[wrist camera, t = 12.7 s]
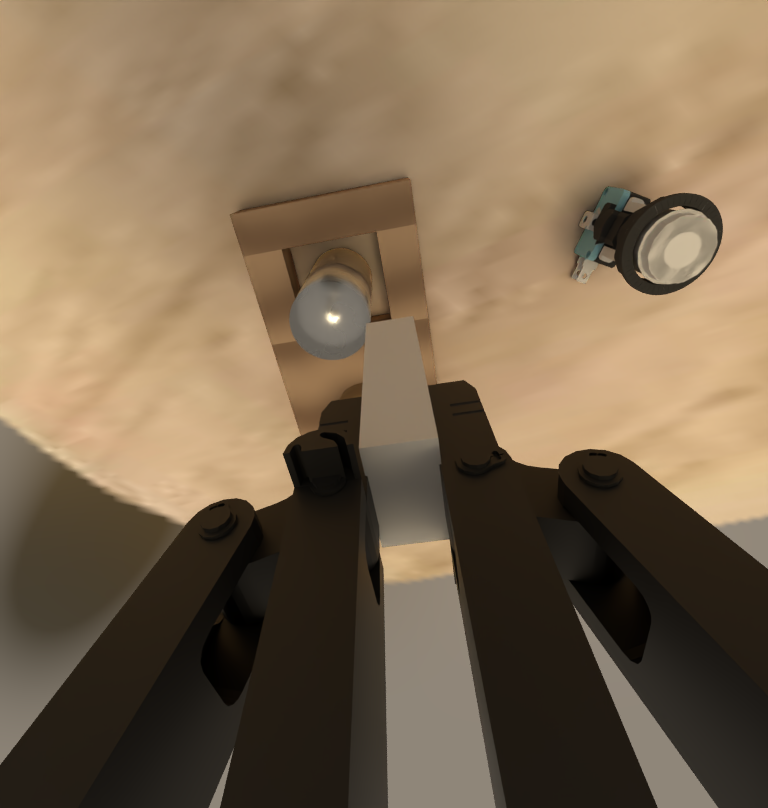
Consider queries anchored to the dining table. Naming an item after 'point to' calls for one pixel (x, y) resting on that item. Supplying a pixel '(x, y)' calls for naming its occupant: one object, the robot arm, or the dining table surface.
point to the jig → (278, 288)
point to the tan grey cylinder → (333, 305)
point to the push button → (650, 239)
